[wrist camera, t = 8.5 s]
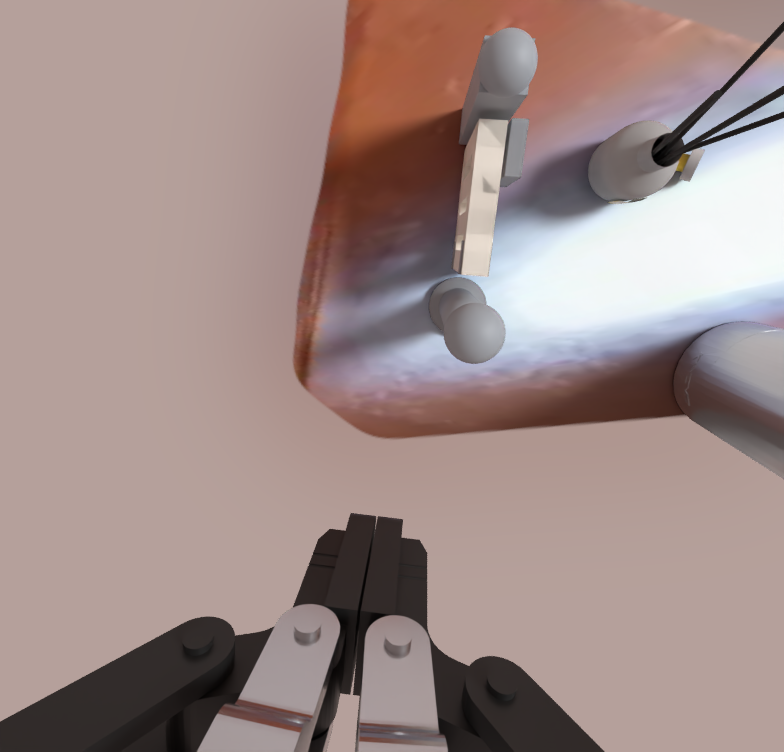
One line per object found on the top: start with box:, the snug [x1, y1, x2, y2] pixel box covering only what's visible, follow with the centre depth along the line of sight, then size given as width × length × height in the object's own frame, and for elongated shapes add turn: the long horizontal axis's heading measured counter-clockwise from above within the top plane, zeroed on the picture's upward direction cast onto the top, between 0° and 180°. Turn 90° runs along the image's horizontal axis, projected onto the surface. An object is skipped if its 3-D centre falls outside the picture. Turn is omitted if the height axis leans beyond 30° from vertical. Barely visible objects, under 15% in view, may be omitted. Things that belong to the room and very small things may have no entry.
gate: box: [451, 119, 508, 277], centre depth 31 cm, size 8×2×9 cm, turn 176°
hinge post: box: [429, 277, 505, 364], centre depth 31 cm, size 5×5×14 cm
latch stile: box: [459, 28, 538, 187], centre depth 28 cm, size 4×6×14 cm
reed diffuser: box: [588, 22, 784, 204], centre depth 24 cm, size 10×7×20 cm
